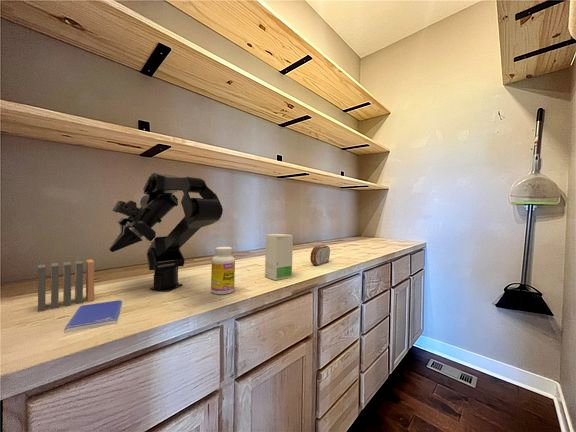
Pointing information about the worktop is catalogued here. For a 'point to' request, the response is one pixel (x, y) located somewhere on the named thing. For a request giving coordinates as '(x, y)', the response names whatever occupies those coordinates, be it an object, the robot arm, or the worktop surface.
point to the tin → (320, 255)
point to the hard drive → (94, 316)
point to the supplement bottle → (223, 271)
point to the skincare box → (278, 256)
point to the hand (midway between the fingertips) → (110, 250)
